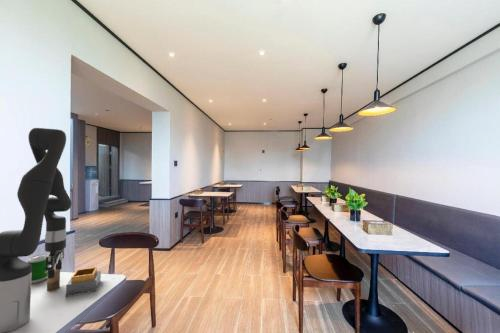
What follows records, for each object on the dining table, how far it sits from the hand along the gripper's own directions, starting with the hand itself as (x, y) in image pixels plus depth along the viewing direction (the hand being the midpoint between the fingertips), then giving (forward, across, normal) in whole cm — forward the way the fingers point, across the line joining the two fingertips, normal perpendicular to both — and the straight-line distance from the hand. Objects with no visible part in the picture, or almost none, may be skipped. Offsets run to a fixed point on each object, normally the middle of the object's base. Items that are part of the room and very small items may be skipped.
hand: (55, 273), depth 104 cm
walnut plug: (+7, -1, 0) cm, 7 cm away
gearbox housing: (+7, -6, -13) cm, 15 cm away
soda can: (+7, +12, +10) cm, 18 cm away
